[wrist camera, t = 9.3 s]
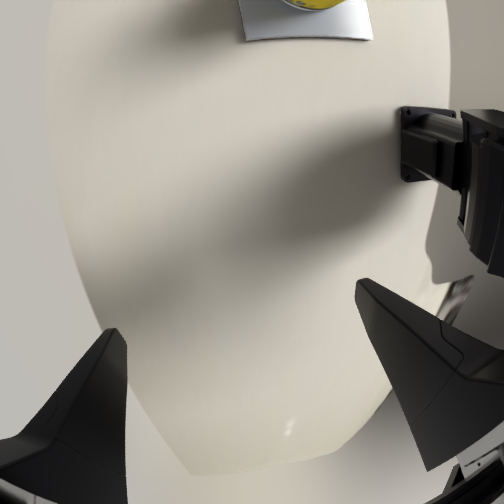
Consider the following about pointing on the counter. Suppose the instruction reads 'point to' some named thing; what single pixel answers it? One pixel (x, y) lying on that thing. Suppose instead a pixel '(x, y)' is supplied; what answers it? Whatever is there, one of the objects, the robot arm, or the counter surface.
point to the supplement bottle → (313, 4)
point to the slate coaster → (304, 20)
